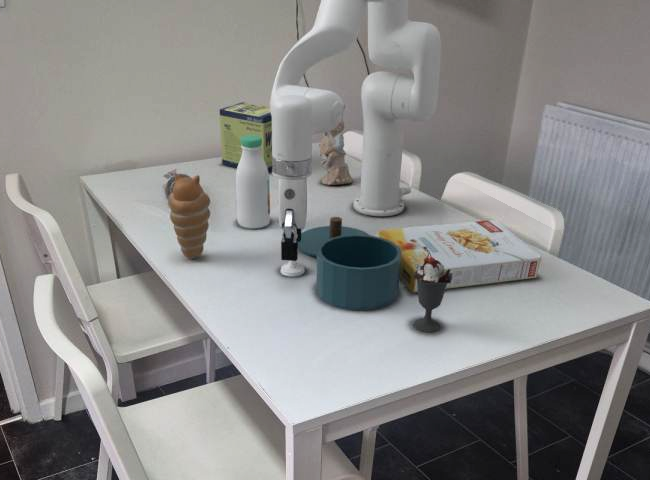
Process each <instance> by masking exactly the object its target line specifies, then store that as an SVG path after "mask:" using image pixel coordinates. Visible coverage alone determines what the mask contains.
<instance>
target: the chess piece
mask: <svg viewBox="0 0 650 480" xmlns="http://www.w3.org/2000/svg"><path fill="white" fill-rule="evenodd" d="M292 226H294V225H292ZM292 232H293V234H294V230H292ZM297 236H298V235H297ZM304 273H305V267H304V266H303V265H302V264H299V263H298V262H297V261H288V262H287V263H285V264H283V265H281V267H280V274H281V275H284V276H285V277H286V276H287V277H299V276H302V275H304Z"/></svg>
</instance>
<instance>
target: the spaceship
mask: <svg viewBox="0 0 650 480" xmlns="http://www.w3.org/2000/svg"><path fill="white" fill-rule="evenodd" d="M174 173H176V174H177V168H175V169H173V170H171V171H168V172H167V173H166V174H164V175H163V176H162V177H163V178H165V179H166V180H167V181H166V182H165V183H164V184H163V185H162V187H163V189H164V194H165V197H166V199H167V200H168V198H169V196H170V194H171V193H172V192H173V187H174V185H175V183H176V182H175V177H174ZM178 174H179V175H180V176H182V177H183V178H184V177H189V178H192V177H191V176H190V175H188V174H187V173H178Z"/></svg>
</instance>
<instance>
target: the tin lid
mask: <svg viewBox="0 0 650 480" xmlns="http://www.w3.org/2000/svg"><path fill="white" fill-rule="evenodd" d="M355 234H357V235H370V234H369V233H368V232H366V231H363V230H361V229H358V228H355V227H350V226H343V218H341V217H339V216H332V217H330V218H329V225H323V226H317V227H313V228H308V229H306V230H305V231H302V232H301V241H300V242H298V250H299V249H300V251H301V252H303V253H305V254H307V255H309V256H312V257H315V258H317V248H318V247H319V245H320V244H321V243H322V242H324V241H326V240H328V239H330V238H334V237H338V236H342V235H355Z"/></svg>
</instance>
